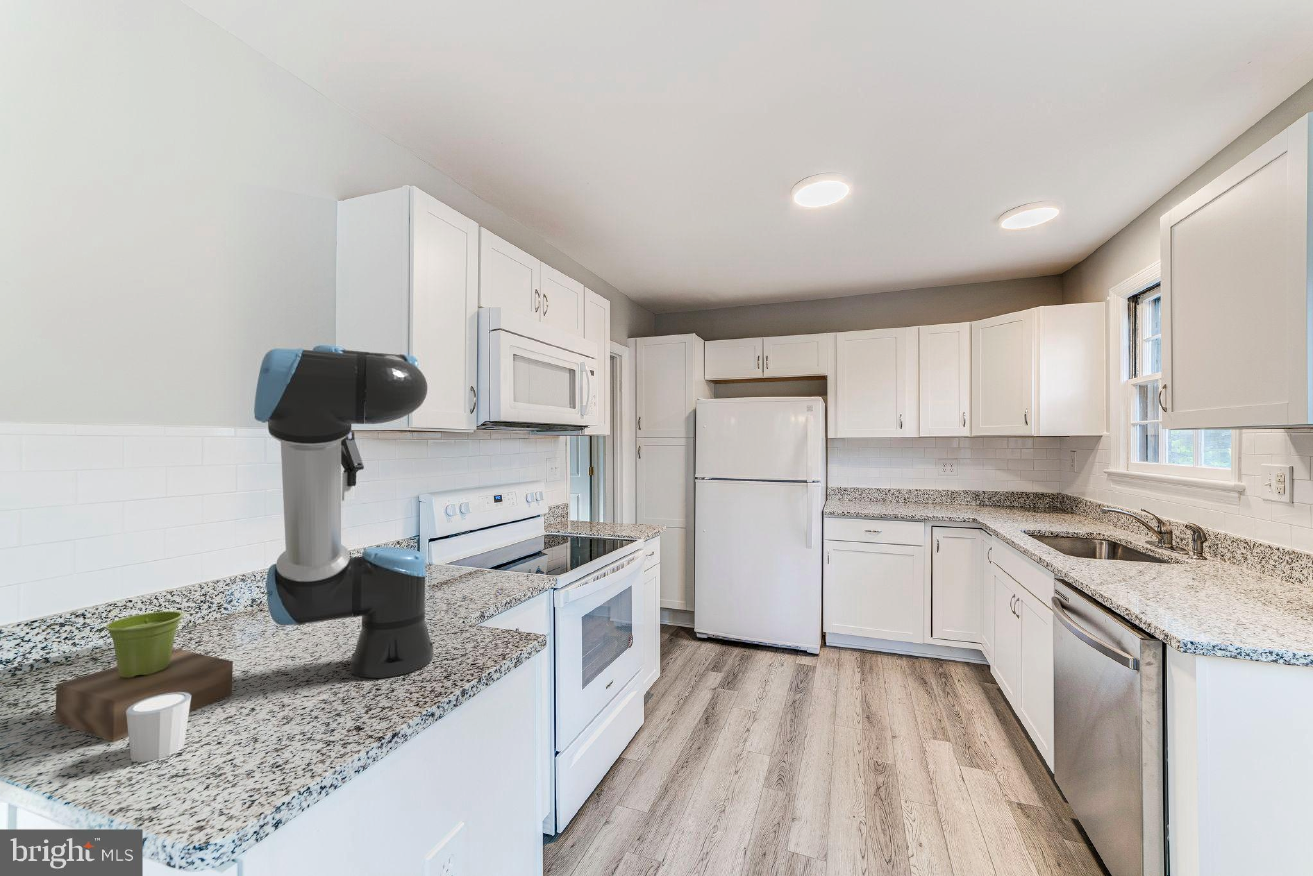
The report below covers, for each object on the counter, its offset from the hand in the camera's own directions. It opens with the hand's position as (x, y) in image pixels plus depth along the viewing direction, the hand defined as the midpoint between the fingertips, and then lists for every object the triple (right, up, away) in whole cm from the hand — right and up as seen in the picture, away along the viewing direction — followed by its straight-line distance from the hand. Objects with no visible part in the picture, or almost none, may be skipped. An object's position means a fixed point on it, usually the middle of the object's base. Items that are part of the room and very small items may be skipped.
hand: (327, 499), depth 126 cm
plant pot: (-8, -25, -37) cm, 46 cm away
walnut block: (-6, -31, -38) cm, 49 cm away
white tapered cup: (+7, -31, -50) cm, 59 cm away
